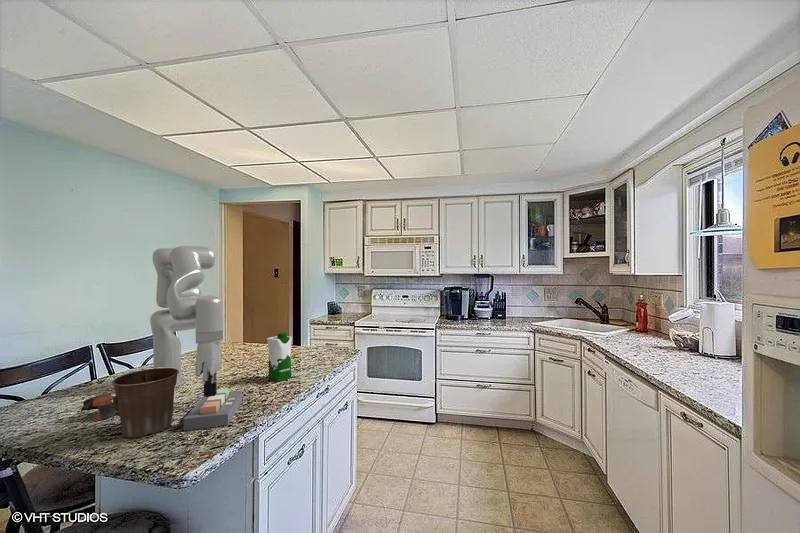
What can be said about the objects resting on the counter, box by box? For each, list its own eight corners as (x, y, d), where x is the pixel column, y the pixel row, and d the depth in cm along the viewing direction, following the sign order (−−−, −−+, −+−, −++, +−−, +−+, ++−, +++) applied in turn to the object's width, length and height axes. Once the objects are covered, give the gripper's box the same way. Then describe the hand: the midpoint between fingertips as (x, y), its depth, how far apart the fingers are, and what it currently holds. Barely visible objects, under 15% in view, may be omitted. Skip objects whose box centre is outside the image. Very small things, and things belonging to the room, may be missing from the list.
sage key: (215, 398, 119) (215, 389, 120) (229, 396, 121) (229, 388, 121) (211, 402, 115) (211, 393, 115) (226, 401, 116) (225, 392, 116)
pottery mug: (81, 427, 105) (75, 402, 107) (90, 429, 113) (84, 406, 115) (128, 408, 112) (122, 384, 114) (134, 411, 120) (128, 389, 122)
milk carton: (277, 383, 142) (276, 335, 142) (264, 379, 147) (264, 333, 148) (294, 377, 149) (294, 332, 149) (282, 374, 154) (281, 330, 155)
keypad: (205, 404, 121) (205, 393, 121) (242, 400, 124) (242, 390, 124) (183, 430, 100) (183, 418, 100) (228, 425, 103) (227, 413, 103)
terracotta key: (204, 411, 108) (204, 402, 108) (220, 410, 109) (220, 400, 109) (200, 417, 104) (200, 407, 104) (216, 415, 105) (216, 406, 105)
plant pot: (159, 440, 95) (158, 382, 95) (97, 444, 93) (96, 385, 94) (190, 415, 111) (189, 366, 111) (137, 418, 110) (136, 368, 110)
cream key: (210, 404, 114) (210, 395, 114) (224, 403, 115) (224, 394, 115) (206, 409, 109) (206, 400, 109) (221, 408, 110) (221, 398, 111)
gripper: (203, 333, 113) (204, 388, 113) (187, 342, 98) (188, 406, 98) (228, 332, 115) (229, 386, 114) (216, 340, 100) (216, 403, 100)
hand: (210, 395), depth 106 cm, fingers closed
